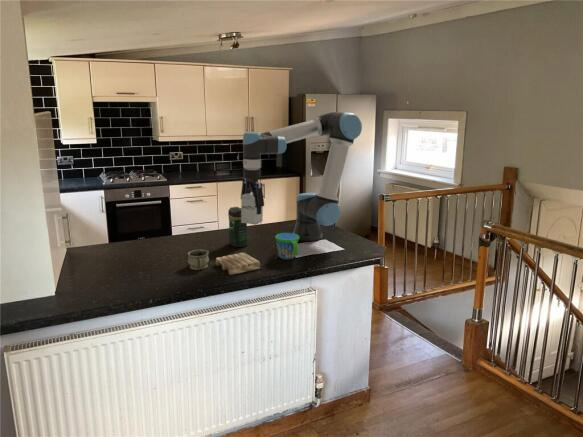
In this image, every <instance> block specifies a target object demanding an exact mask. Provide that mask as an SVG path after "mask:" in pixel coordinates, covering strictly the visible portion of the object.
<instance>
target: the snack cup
mask: <svg viewBox="0 0 583 437" xmlns="http://www.w3.org/2000/svg"><path fill="white" fill-rule="evenodd" d="M274 240H275V241H276V243H275V244H276V247H277V253H278V254H277V255H278V257H279V258H280V259H282V260H284V261H285V260H286V261H289V260H293V259H295V257H296V256H297V255H299V247H298V242H299V241H300V240H299V236H298V235H297V234H293V232H280V233H278V234H276V235H275V238H274Z"/></svg>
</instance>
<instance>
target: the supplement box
mask: <svg viewBox="0 0 583 437" xmlns="http://www.w3.org/2000/svg"><path fill="white" fill-rule="evenodd" d="M240 200H241V201H240V203H241V206H240V208H241V223H247V225H254V226H256V225H258V224H260V223H261V222H263V220H264V219H263V216H264V215H263V212H264V211H263V210H264V209H263V208H264V206H262V207H261V221H258V222H255V207H254V206H256V204H255V197H254V196H253V193H252V192H251V193H246V194H244V195H241V194H240Z"/></svg>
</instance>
